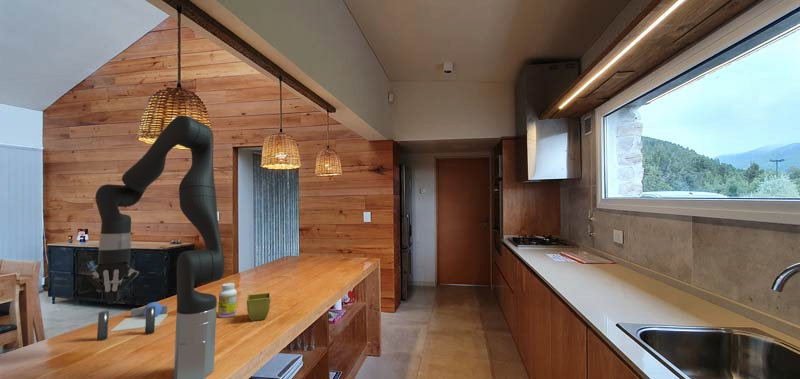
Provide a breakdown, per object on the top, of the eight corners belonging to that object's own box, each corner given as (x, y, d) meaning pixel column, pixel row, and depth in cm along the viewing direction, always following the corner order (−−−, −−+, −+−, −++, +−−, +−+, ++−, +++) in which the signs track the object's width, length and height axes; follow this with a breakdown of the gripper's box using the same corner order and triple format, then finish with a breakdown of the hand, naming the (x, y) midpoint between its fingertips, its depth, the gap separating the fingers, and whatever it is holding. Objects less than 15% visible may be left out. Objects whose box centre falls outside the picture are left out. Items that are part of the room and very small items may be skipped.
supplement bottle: (214, 316, 128) (215, 285, 129) (229, 311, 134) (230, 281, 135) (224, 319, 125) (225, 287, 126) (239, 314, 131) (240, 283, 132)
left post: (105, 339, 105) (106, 312, 106) (95, 341, 104) (97, 313, 105) (108, 337, 108) (110, 310, 108) (99, 338, 107) (100, 311, 107)
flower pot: (246, 316, 128) (247, 294, 129) (269, 313, 132) (270, 292, 132) (245, 324, 120) (246, 300, 121) (270, 320, 124) (270, 297, 124)
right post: (152, 333, 110) (154, 308, 111) (143, 335, 109) (145, 309, 110) (155, 331, 113) (156, 306, 113) (146, 332, 112) (147, 306, 112)
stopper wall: (166, 313, 131) (166, 306, 132) (130, 317, 127) (131, 309, 127) (167, 312, 133) (167, 305, 133) (132, 316, 128) (132, 308, 128)
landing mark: (157, 326, 118) (157, 325, 118) (110, 331, 112) (110, 331, 112) (168, 314, 130) (168, 313, 130) (126, 318, 125) (126, 318, 125)
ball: (162, 317, 129) (157, 315, 124) (145, 319, 127) (139, 317, 122) (165, 302, 132) (160, 299, 127) (148, 304, 130) (142, 301, 125)
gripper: (81, 250, 92) (77, 309, 91) (136, 247, 98) (133, 303, 97) (94, 247, 99) (90, 302, 98) (145, 245, 104) (142, 297, 103)
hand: (112, 302), depth 97 cm, fingers closed
